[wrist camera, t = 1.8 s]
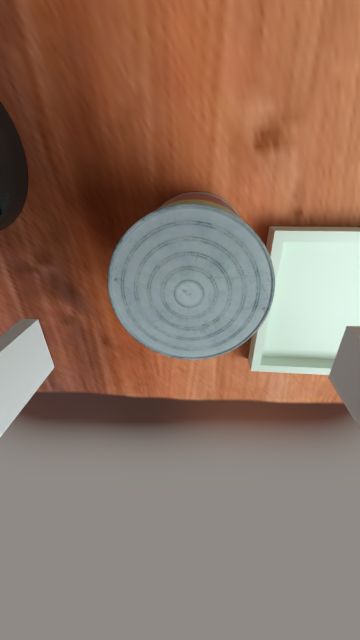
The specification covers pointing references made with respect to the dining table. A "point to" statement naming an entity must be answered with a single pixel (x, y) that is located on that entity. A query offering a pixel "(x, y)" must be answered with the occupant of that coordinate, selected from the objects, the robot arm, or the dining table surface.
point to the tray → (308, 299)
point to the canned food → (191, 278)
